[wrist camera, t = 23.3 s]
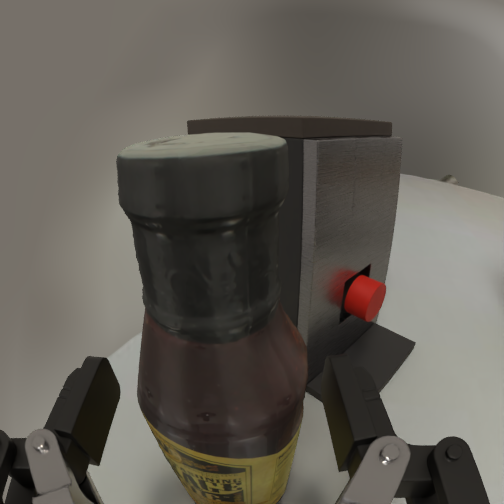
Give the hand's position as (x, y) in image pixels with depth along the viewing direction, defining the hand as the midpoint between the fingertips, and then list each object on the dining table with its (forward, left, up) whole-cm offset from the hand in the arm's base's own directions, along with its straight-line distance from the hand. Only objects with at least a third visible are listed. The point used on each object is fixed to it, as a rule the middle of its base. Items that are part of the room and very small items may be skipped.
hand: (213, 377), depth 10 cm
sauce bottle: (0, 0, -12) cm, 12 cm away
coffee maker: (+9, +14, -12) cm, 21 cm away
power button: (+12, +10, -7) cm, 17 cm away
